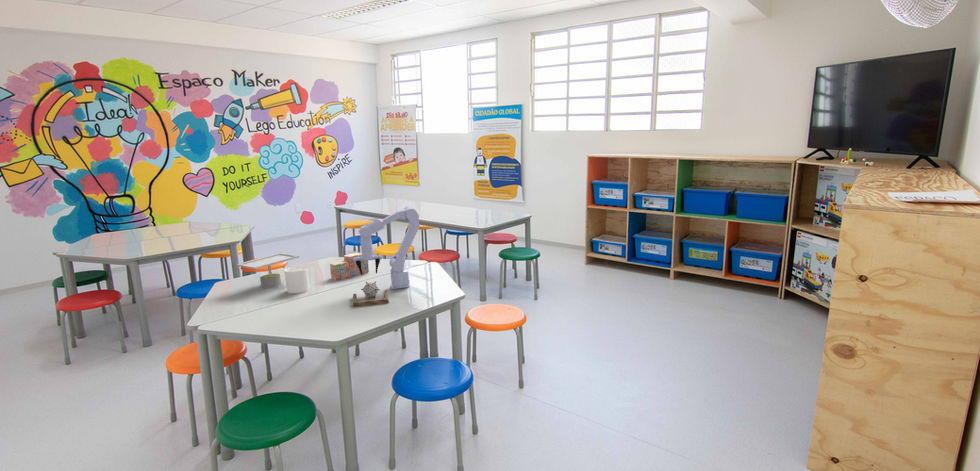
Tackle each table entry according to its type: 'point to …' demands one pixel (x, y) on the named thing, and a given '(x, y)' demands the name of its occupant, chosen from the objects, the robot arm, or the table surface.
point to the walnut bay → (370, 301)
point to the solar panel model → (269, 279)
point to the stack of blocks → (348, 267)
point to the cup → (297, 279)
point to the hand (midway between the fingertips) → (369, 273)
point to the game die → (370, 289)
